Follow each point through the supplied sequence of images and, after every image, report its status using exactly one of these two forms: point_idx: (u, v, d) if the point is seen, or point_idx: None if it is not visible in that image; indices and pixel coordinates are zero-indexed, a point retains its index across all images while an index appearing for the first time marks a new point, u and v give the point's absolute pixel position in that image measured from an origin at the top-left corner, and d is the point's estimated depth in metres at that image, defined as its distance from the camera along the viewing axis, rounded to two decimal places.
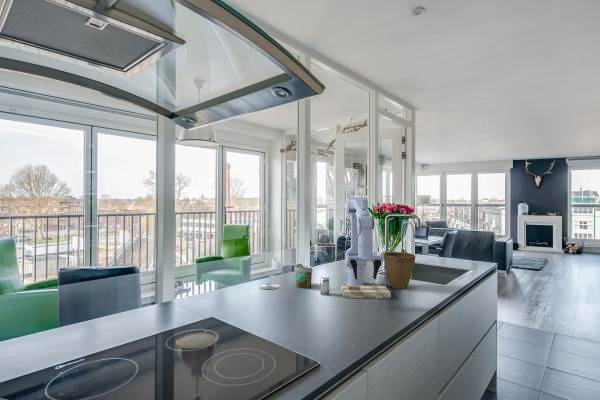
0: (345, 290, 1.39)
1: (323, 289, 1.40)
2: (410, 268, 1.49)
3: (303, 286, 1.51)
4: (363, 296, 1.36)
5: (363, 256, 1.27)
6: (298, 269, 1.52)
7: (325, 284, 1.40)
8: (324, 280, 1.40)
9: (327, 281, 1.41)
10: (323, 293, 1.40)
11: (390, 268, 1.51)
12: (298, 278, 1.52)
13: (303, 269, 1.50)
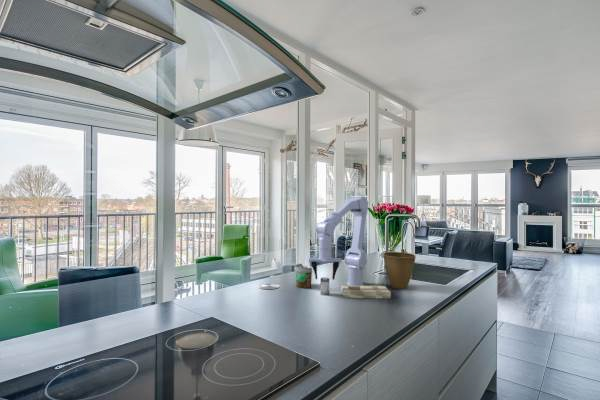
0: (345, 290, 1.39)
1: (323, 289, 1.40)
2: (410, 268, 1.49)
3: (303, 286, 1.51)
4: (363, 296, 1.36)
5: (322, 258, 1.40)
6: (298, 269, 1.52)
7: (325, 284, 1.40)
8: (324, 280, 1.40)
9: (327, 281, 1.41)
10: (323, 293, 1.40)
11: (391, 268, 1.51)
12: (298, 278, 1.52)
13: (303, 269, 1.50)
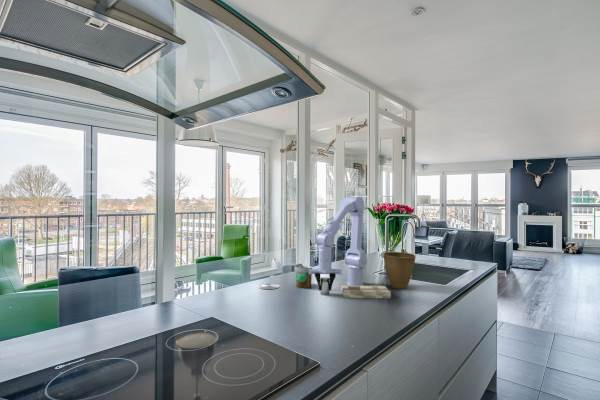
0: (345, 290, 1.39)
1: (323, 289, 1.40)
2: (410, 268, 1.49)
3: (303, 286, 1.51)
4: (363, 296, 1.36)
5: (322, 270, 1.40)
6: (298, 269, 1.52)
7: (325, 284, 1.40)
8: (324, 280, 1.40)
9: (327, 281, 1.41)
10: (323, 293, 1.40)
11: (390, 268, 1.51)
12: (298, 278, 1.52)
13: (303, 269, 1.50)
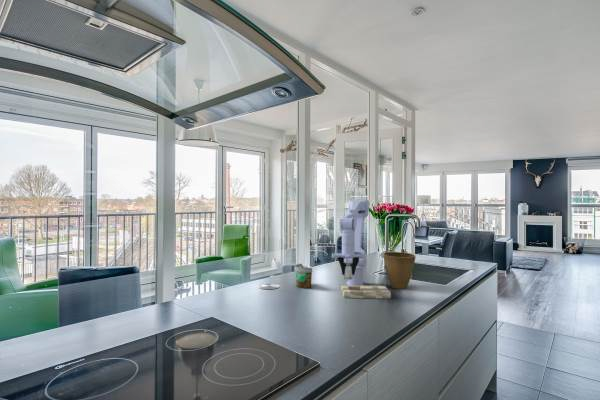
0: (345, 290, 1.39)
1: (347, 273, 1.40)
2: (410, 268, 1.49)
3: (303, 286, 1.51)
4: (363, 296, 1.36)
5: (346, 254, 1.40)
6: (298, 269, 1.52)
7: (348, 268, 1.40)
8: (347, 265, 1.40)
9: (350, 265, 1.40)
10: (347, 277, 1.40)
11: (390, 268, 1.51)
12: (298, 278, 1.52)
13: (303, 269, 1.50)
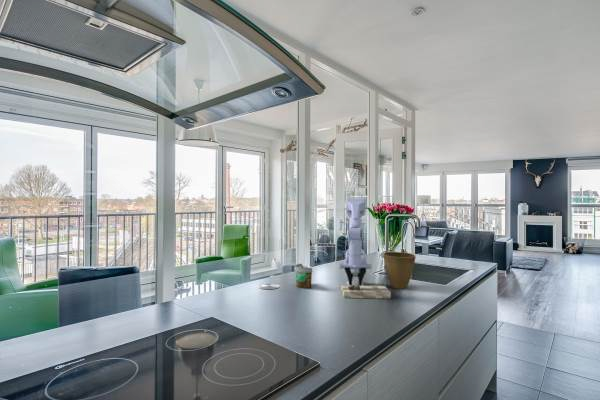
0: (345, 290, 1.39)
1: (354, 284, 1.40)
2: (410, 268, 1.49)
3: (303, 286, 1.51)
4: (363, 296, 1.36)
5: (353, 264, 1.39)
6: (298, 269, 1.52)
7: (356, 279, 1.40)
8: (354, 275, 1.40)
9: (358, 276, 1.40)
10: (354, 288, 1.40)
11: (390, 268, 1.51)
12: (298, 278, 1.52)
13: (303, 269, 1.50)
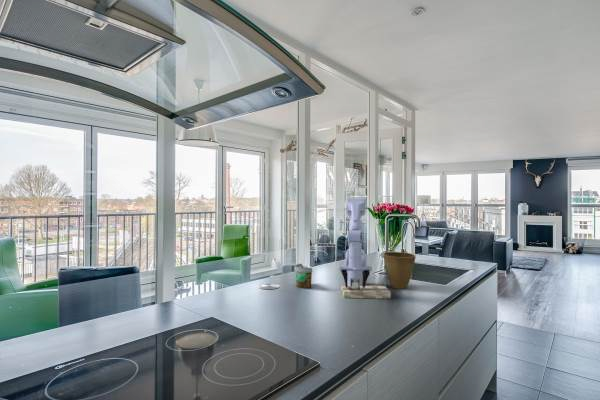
0: (345, 290, 1.39)
1: (353, 289, 1.40)
2: (410, 268, 1.49)
3: (303, 286, 1.51)
4: (363, 296, 1.36)
5: (353, 267, 1.39)
6: (298, 269, 1.52)
7: (356, 284, 1.40)
8: (354, 281, 1.40)
9: (357, 281, 1.40)
10: None
11: (390, 268, 1.51)
12: (298, 278, 1.52)
13: (303, 269, 1.50)
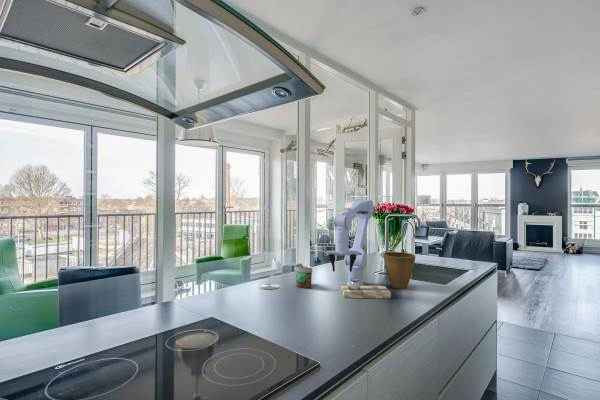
0: (345, 290, 1.39)
1: (353, 289, 1.40)
2: (410, 268, 1.49)
3: (303, 286, 1.51)
4: (363, 296, 1.36)
5: (340, 251, 1.42)
6: (298, 269, 1.52)
7: (356, 284, 1.40)
8: (354, 281, 1.40)
9: (357, 281, 1.40)
10: None
11: (390, 268, 1.51)
12: (298, 278, 1.52)
13: (303, 269, 1.50)
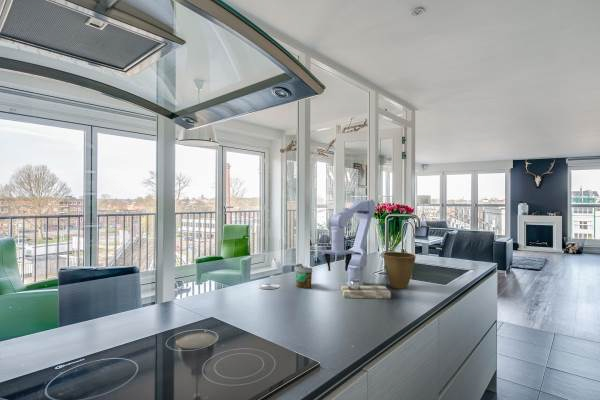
0: (345, 290, 1.39)
1: (353, 289, 1.40)
2: (410, 268, 1.49)
3: (303, 286, 1.51)
4: (363, 296, 1.36)
5: (335, 250, 1.43)
6: (298, 269, 1.52)
7: (356, 284, 1.40)
8: (354, 281, 1.40)
9: (357, 281, 1.40)
10: None
11: (390, 268, 1.51)
12: (298, 278, 1.52)
13: (303, 269, 1.50)
